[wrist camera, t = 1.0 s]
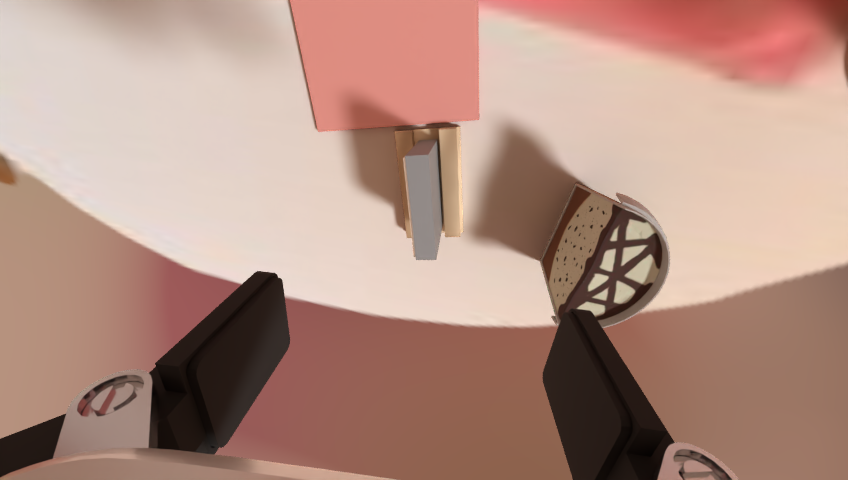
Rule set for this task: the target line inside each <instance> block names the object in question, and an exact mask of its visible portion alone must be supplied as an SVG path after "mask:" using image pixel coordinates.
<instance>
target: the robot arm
mask: <svg viewBox="0 0 848 480" xmlns="http://www.w3.org/2000/svg"><path fill="white" fill-rule="evenodd" d="M289 344H290V335H289V328H288V320H287V312H286V305H285V297H284V289H283V282H282V279H281V278H278V276H277V274H275V273H270V272H261V271H257V272H255V273H254V274H253V275H252V276H251V277H250V278H249V279H247V280H246V281H245V282H244V283H243V284H242V285H241V286H240V287H239V288H238V289H236V291H234V292H233V293H232V294H231V295H230V296H229V297H228V298H227V299H225V300H224V302H222V303H221V304H220V305H219V306H218V307H217V308H216V309H215V310H213V311H212V312H211V313H210V314H209V315H208V316H207V317H206V318H205V319H204V320H202V321H201V322H200V323H199V324H198V325H197V326H196V327H195V328H194V329H193V330H191V331H190V332H189V333H188V334H187V335H186V336H185V337H184V338H183V339H181V340H180V341H179V342H178V343H177V344H176V345H175V346H174V347H173V348H172V349H170V350H169V351H168V352H167V353H166V354H165V355H164V356H163V357H162V358H161V359H160V360H158V361H157V362H156V363H155V365H156V367H155V368H154V369H153V370H152V371H151V372H150V373H147V372H146V371H142V370H126V371H122V372H118V373H114V374H112V375H109V376H107V377H104V378H102V379H100V380H98V381H97V382H95V383H93V384H91V385H90V386H88V387H87V388H86V389H84V390H83V391H82V392H80V393H79V394H78V395H77V396H76V398H75V399H74V400H73V401H72V402H71V404H70V406H69V408H68V410H67V413H66V414H64V415H61V416H59V417H56V418H54V419H51V420H48V421H46V422H43V423H41V424H38V425H35V426H33V427H30V428H28V429H25V430H22V431H20V432H17V433H14V434H12V435H9V436H6V437H4V438H1V439H0V480H394V479H388V478H381V477H374V476H366V475H360V474H353V473H346V472H339V471H332V470H325V469H318V468H310V467H303V466H296V465H289V464H282V463H275V462H267V461H260V460H253V459H246V458H238V457H231V456H222V455H214V454H215V453H216V451H217V450H218V448H219V447H221V448H222V447H224V446H225V445H226V444H227V443H228V441H229V440H230V438H231V437H232V435H233V433H234V432H235V430H236V429H237V427H238V426H239V424H240V423H241V421H242V419H243V418H244V416H245V415H246V413H247V411H248V410H249V408H250V407H251V406H252V404H253V402H254V401H255V399H256V397H257V396H258V394H259V393H260V392H261V390H262V388H263V387H264V385H265V384H266V382H267V381H268V379H269V378H270V376H271V374H272V373H273V371H274V370H275V368H276V367H277V365H278V364H279V362H280V361H281V359H282V358H283V356H284V354H285V353H286V351H287V350H288V347H289ZM543 383H544V387H545V390H546V393H547V396H548V400H549V403H550V406H551V409H552V412H553V416H554V419H555V422H556V426H557V429H558V432H559V435H560V438H561V442H562V445H563V448H564V451H565V455H566V458H567V461H568V465H569V468H570V471H571V474H572V478H573V480H739V479H738V478H737V477H736V476H735V474H734V473H733V472H732V471H731V470H730V469H729V468H728V467H727V466H726V465H724V464H723V463H722V462H721V461H720V460H718V459H717V458H716V457H714V456H713V455H711V454H710V453H708V452H707V451H705V450H703V449H701V448H699V447H696V446H694V445H691V444H687V443H677V442H676V443H675V442H674V441H673V439H672V438H671V436H670V435H669V433H668V431H667V430H666V428H665V427H664V425H663V423H662V422H661V420H660V419H659V417H658V416H657V414H656V412H655V411H654V409H653V407H652V406H651V404H650V403H649V401H648V400H647V398H646V396H645V395H644V393H643V392H642V390H641V388H640V387H639V385H638V384H637V382H636V381H635V379H634V377H633V376H632V374H631V373H630V371H629V369H628V368H627V366H626V365H625V363H624V362H623V360H622V359H621V357H620V356H619V354H618V352H617V351H616V349H615V347H614V346H613V344H612V343H611V341H610V340H609V338H608V336H607V335H606V333H605V332H604V330H603V328H602V327H601V325H600V324H599V322H598V320H597V319H596V317H595V316H594V314H593V313H592V312H591V311H590V310H582V309H574V308H572V309H570V310H569V312H564V313H563V315H562V318H561V321H560V324H559V327H558V330H557V333H556V336H555V339H554V342H553V344H552V347H551V350H550V353H549V356H548V359H547V362H546V365H545V368H544V371H543Z"/></svg>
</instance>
